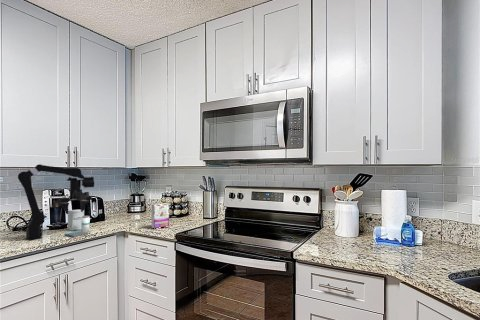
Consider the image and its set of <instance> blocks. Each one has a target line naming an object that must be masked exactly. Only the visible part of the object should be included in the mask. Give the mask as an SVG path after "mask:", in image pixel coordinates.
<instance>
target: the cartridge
mask: <svg viewBox="0 0 480 320" xmlns="http://www.w3.org/2000/svg"><path fill="white" fill-rule="evenodd" d="M90 221H91V219H90V215H84V216H82V223H81V229H80V231H83V232H88V233H89V232H90Z"/></svg>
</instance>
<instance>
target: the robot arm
mask: <svg viewBox="0 0 480 320" xmlns="http://www.w3.org/2000/svg"><path fill="white" fill-rule="evenodd" d="M40 172H46V173H53V174H54V173H55V174H62V175H66V176H69V177H68V178H67V179H66V181H67V182H69V189H68V192H69V196H68V197H58V198H57V199H56V203H58V204H60V206H61V207H62V208H63V211H64V213H65V214H66V215H68V211H69V205H70V202H74V201H75V202H76V201H79V205H80V206H79V208H80V210H81V212H83V210H84V211H85V207H86V206H87V205H86V204H87V203H90V201H92V196H91V195H90V192H89V191H84V192H83V190H82V188H81V187H83V188H94V187H95V179H94V176H84V175H83V174H82V170H81V169H80V168H78V167H60V166H59V167H58V166H51V165H44V164H41V163H40V164H37V165H35V166H34V167H32V168H30V169H29V170H27V171H21V172H20V173H18V175H17V179H18V181H19V183H20V184H21V186H22V187H23V190H24V192H25V196H26V198H27V201H28V205H29V207H30V211H31V220H30V221H29V222H28V223H27V226H26V227H27V228H26V229H25V230H26V231H25V237H24V238H23V239H24V240H28V241H33V240H38V239H43V229H42V227H41V226H42V225H43V224H44V223H45V219H46V215H45V213H44V210H40V208H39V205H38V201H37V199H36V196H35V192H34V188H33V186H32V185H33V183H32V177H34V175H36V174H38V173H40Z"/></svg>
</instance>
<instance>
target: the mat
mask: <svg viewBox="0 0 480 320" xmlns="http://www.w3.org/2000/svg"><path fill="white" fill-rule="evenodd" d="M87 235H89V231H88V232H83V231H81V230H74V231H70V232H66V233H64V237H68V238H78V237H82V236H87Z"/></svg>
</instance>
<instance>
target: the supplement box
mask: <svg viewBox="0 0 480 320" xmlns="http://www.w3.org/2000/svg"><path fill="white" fill-rule="evenodd" d="M82 216H85V209H84V210H83V212H81V209H71V210H70V209H68V214H67V230H69V231H71V232H74V231H79V230H81V223H82Z"/></svg>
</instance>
